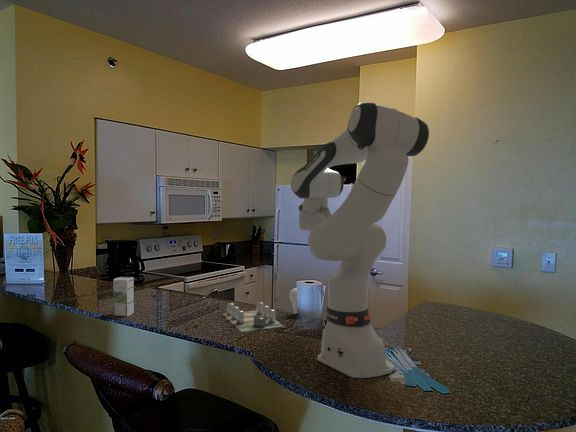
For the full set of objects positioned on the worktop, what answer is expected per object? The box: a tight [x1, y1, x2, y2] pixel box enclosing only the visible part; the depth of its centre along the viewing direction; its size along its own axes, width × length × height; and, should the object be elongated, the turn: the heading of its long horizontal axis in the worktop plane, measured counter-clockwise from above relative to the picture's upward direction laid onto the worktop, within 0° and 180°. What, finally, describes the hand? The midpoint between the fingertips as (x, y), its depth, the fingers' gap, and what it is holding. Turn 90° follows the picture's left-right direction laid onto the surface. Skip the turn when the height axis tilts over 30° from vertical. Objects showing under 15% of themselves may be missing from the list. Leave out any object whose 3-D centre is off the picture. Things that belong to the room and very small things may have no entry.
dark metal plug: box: [254, 316, 266, 328], centre depth 145 cm, size 4×4×3 cm
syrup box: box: [112, 276, 135, 317], centre depth 160 cm, size 6×6×14 cm
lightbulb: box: [288, 287, 298, 315], centre depth 161 cm, size 6×6×11 cm
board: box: [222, 309, 285, 333], centre depth 153 cm, size 24×16×1 cm, turn 24°
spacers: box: [226, 301, 277, 325], centre depth 154 cm, size 18×14×4 cm
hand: (315, 243), depth 154 cm, fingers closed
